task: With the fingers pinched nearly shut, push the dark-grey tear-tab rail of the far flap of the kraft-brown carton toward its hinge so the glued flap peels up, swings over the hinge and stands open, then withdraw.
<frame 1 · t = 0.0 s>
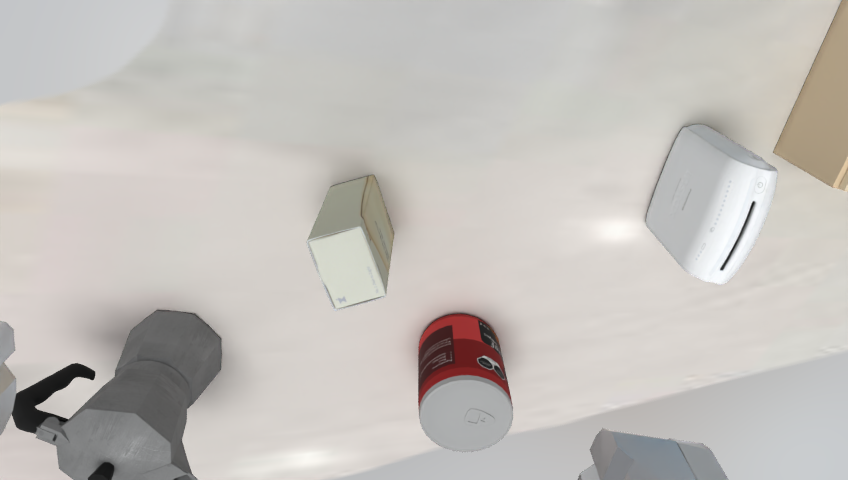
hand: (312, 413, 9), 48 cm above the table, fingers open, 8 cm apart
skincare box: (361, 209, 60), on the table
coffeepot: (167, 342, 65), on the table
canned food: (458, 343, 66), on the table
photo printer: (679, 177, 59), on the table
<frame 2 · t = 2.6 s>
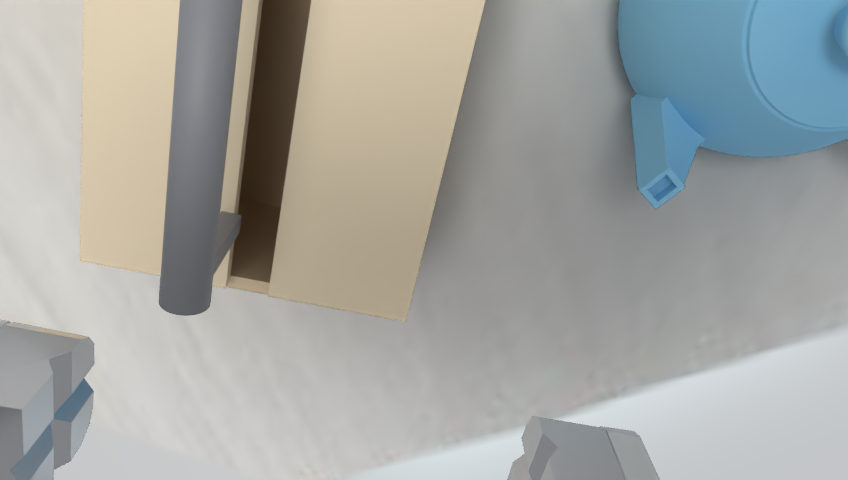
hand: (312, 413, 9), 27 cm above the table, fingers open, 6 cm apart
teapot: (748, 6, 33), on the table
far flap: (147, 89, 22), point 13 cm above the table, hinge at 0.0°
carton: (310, 53, 34), on the table
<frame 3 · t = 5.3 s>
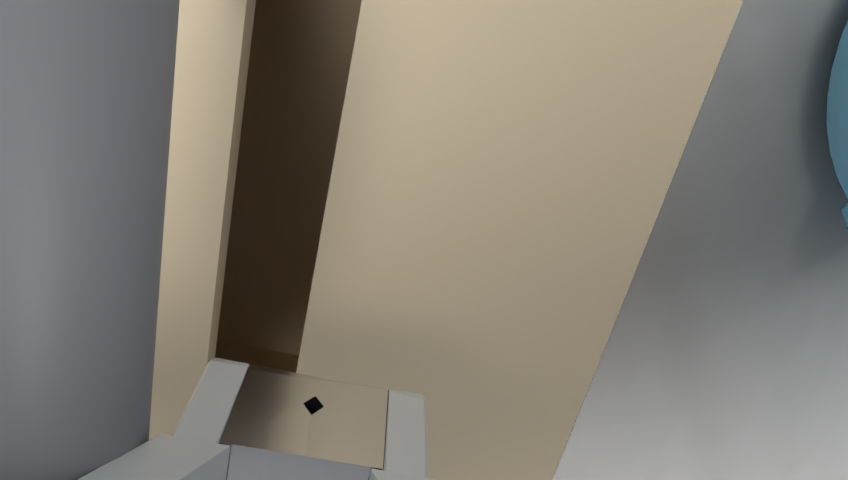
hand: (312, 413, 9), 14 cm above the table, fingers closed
carton: (329, 130, 22), on the table
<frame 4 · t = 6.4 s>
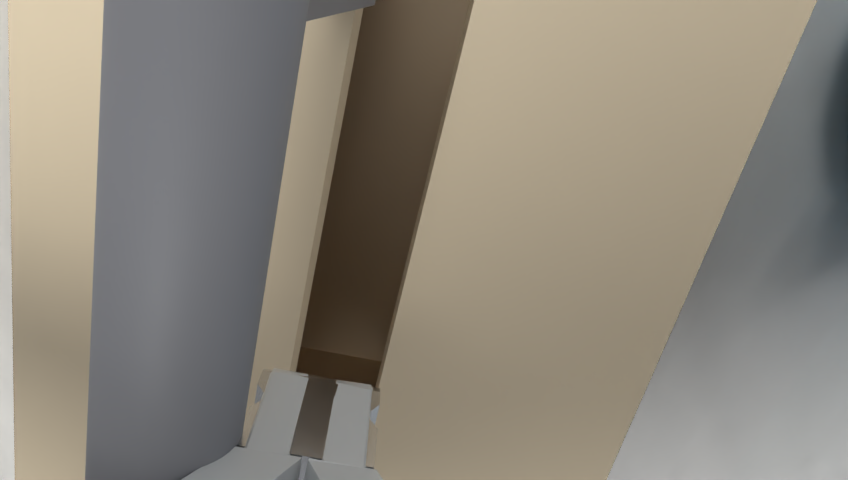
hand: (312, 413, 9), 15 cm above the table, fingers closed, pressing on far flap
far flap: (90, 307, 10), point 13 cm above the table, hinge at 8.2°, touching gripper
carton: (380, 140, 23), on the table
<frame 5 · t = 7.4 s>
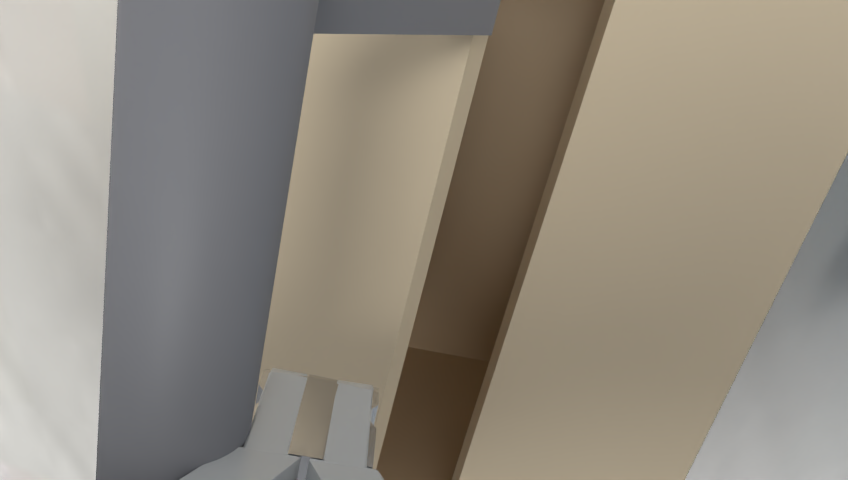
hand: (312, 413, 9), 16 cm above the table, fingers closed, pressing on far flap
far flap: (186, 301, 11), point 14 cm above the table, hinge at 27.7°, touching gripper
carton: (460, 146, 24), on the table
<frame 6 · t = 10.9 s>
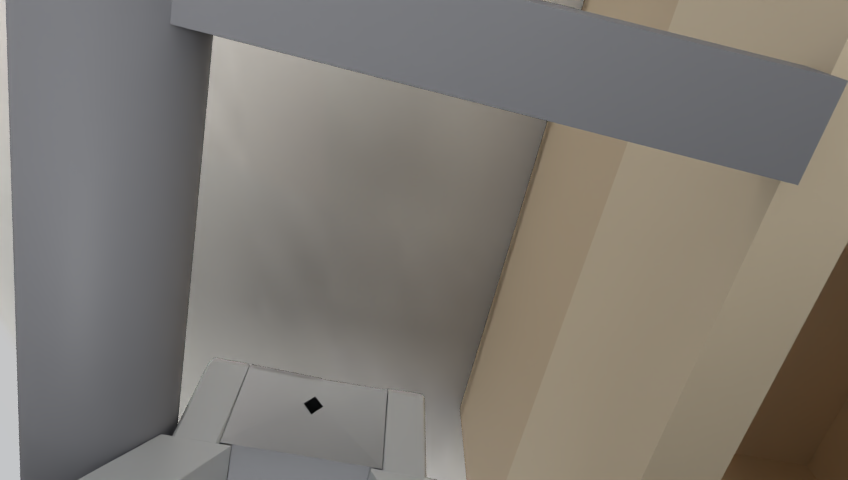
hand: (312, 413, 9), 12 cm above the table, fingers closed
far flap: (379, 392, 10), point 12 cm above the table, hinge at 99.2°, touching gripper
carton: (732, 228, 22), on the table
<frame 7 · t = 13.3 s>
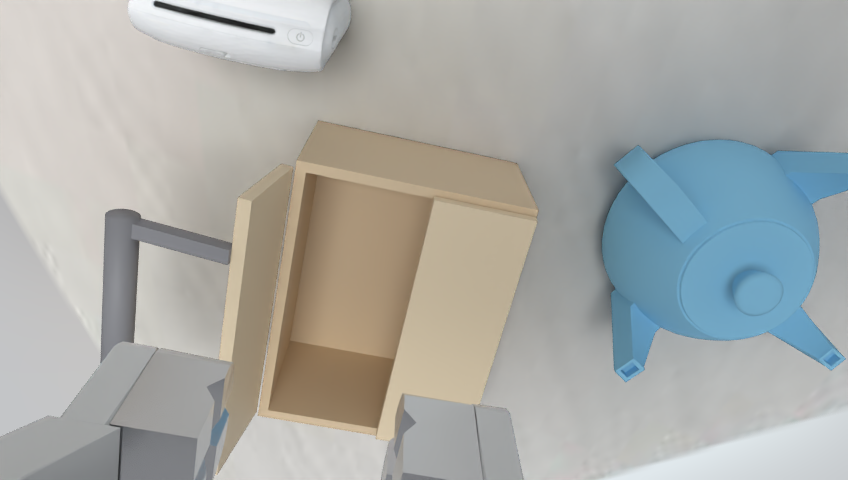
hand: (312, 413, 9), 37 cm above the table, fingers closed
teapot: (691, 226, 49), on the table
far flap: (191, 309, 37), point 12 cm above the table, hinge at 99.4°
carton: (392, 257, 49), on the table
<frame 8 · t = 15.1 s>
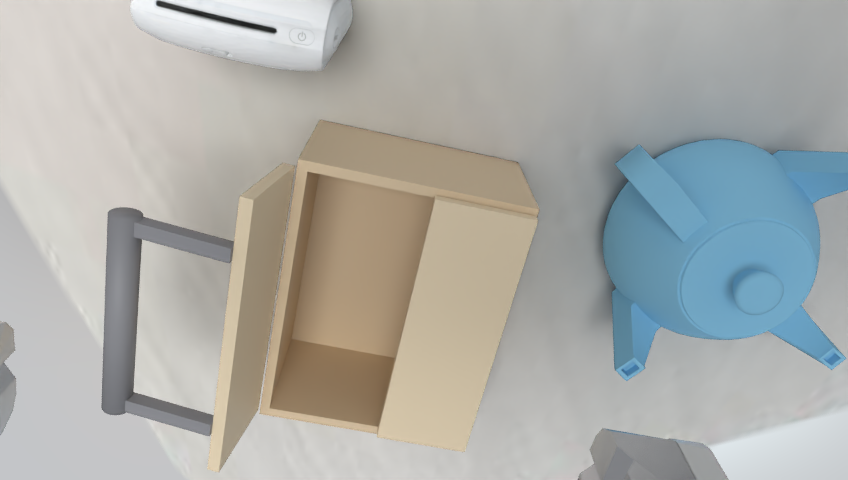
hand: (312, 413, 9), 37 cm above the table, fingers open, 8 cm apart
teapot: (692, 225, 49), on the table
far flap: (193, 308, 38), point 12 cm above the table, hinge at 99.4°
carton: (394, 256, 49), on the table
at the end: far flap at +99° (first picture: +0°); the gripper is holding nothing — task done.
